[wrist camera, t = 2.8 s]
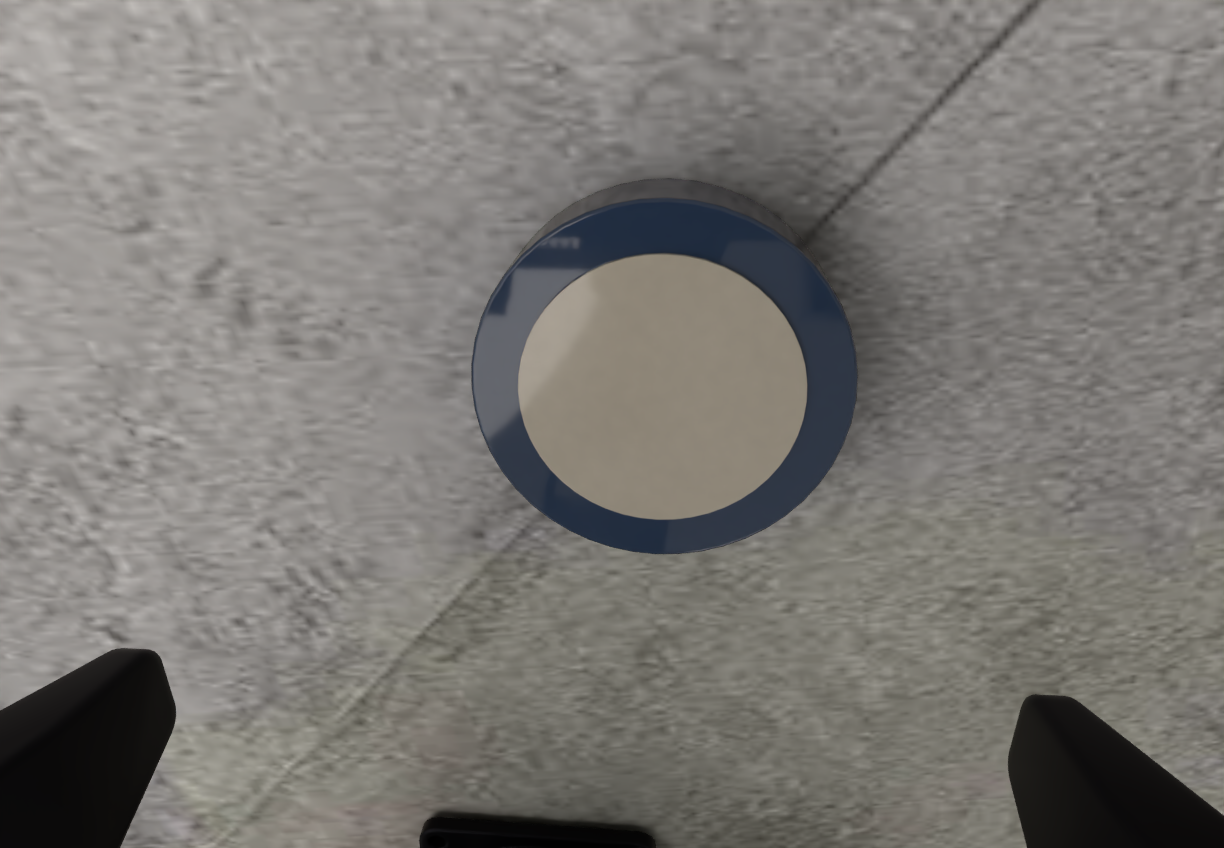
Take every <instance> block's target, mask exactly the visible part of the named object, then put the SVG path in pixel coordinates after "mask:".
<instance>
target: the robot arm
mask: <svg viewBox="0 0 1224 848" xmlns="http://www.w3.org/2000/svg"><path fill="white" fill-rule="evenodd" d="M175 719H176V706H175V702H174V699H173V696H172V692H171V689H170V686H169V683H168V680H167V676H166V673H165V670H164V667H163V663H162V660H161V658H160V656H159V655H158V654H157V653H156V652H155V651H152V650H148V649H130V648H120V649H114V650H111V651H109V652H107V653H105V654H104V655H102V656H100V657H98V658H96V659H94V660H93V661H91V662H89V663H87V664H85V665H83V666H82V667H80V668H78V669H76V670H74V671H72V672H71V673H69V674H67V675H65V676H63V677H61V678H60V679H58V680H56V681H54V682H52V683H50V684H48V685H47V686H45V687H43V688H41V689H39V690H37V691H36V692H34V693H32V694H30V695H28V696H26V697H25V698H23V699H21V700H19V701H17V702H15V703H14V704H12V705H10V706H8V707H6V708H4V709H2V710H1V711H0V848H120V846H121V844H122V842H123V840H124V838H125V835H126V833H127V831H128V829H129V826H130V824H131V822H132V820H133V818H134V815H135V813H136V811H137V809H138V807H139V804H140V802H141V800H142V798H143V795H144V793H145V791H146V789H147V787H148V784H149V782H150V780H151V778H152V776H153V773H154V771H155V769H156V767H157V764H158V762H159V760H160V758H161V756H162V753H163V751H164V749H165V747H166V745H167V742H168V740H169V738H170V736H171V733H172V731H173V728H174V724H175ZM1008 771H1009V778H1010V782H1011V786H1012V790H1013V794H1014V798H1015V802H1016V806H1017V810H1018V814H1019V818H1020V821H1021V825H1022V829H1023V833H1024V837H1025V841H1026V845H1027V848H1224V815H1222V814H1221V813H1220V812H1218V811H1217V810H1216V809H1215V808H1213V807H1212V806H1211V805H1210V804H1208V803H1207V802H1206V801H1204V800H1203V799H1202V798H1201V797H1199V796H1198V795H1197V794H1196V793H1194V792H1193V791H1192V790H1190V789H1189V788H1188V787H1187V786H1185V785H1184V784H1183V783H1182V782H1180V781H1179V780H1178V779H1176V778H1175V777H1174V776H1173V775H1171V774H1170V773H1169V772H1168V771H1166V770H1165V769H1164V768H1162V767H1161V766H1160V765H1159V764H1157V763H1156V762H1155V761H1154V760H1152V759H1151V758H1150V757H1148V756H1147V755H1146V754H1145V753H1143V752H1142V751H1141V750H1140V749H1138V748H1137V747H1136V746H1134V745H1133V744H1132V743H1131V742H1129V741H1128V740H1127V739H1126V738H1124V737H1123V736H1122V735H1120V734H1119V733H1118V732H1117V731H1115V730H1114V729H1113V728H1112V727H1110V726H1109V725H1108V724H1106V723H1105V722H1104V721H1103V720H1101V719H1100V718H1099V717H1098V716H1096V715H1095V714H1094V713H1092V712H1091V711H1090V710H1089V709H1087V708H1086V707H1085V706H1083V705H1082V704H1081V703H1080V702H1078V701H1077V700H1075V699H1073V698H1071V697H1067V696H1056V695H1037V694H1035V695H1030V696H1028V697H1027V698H1026V699H1025V700H1024V702H1023V704H1022V707H1021V710H1020V714H1019V717H1018V721H1017V725H1016V728H1015V732H1014V736H1013V740H1012V743H1011V747H1010V751H1009V756H1008ZM419 842H420V848H656V843H655V840H654V839H653V838H652V837H651V836H650V835H648V834H646V833H642V832H637V831H623V830H609V829H595V828H582V827H568V826H554V825H540V824H527V823H513V822H499V821H485V820H472V819H458V818H444V817H435V818H431V819H428V820H427V821H426V822H425V823H424V826H423V829H422V832H421V835H420V840H419Z"/></svg>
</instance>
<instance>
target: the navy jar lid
mask: <svg viewBox="0 0 1224 848" xmlns="http://www.w3.org/2000/svg"><path fill="white" fill-rule="evenodd" d="M471 383H472V393H473V400H474V407H475V411H476V415H477V418H478V422H479V425H480V429H481V432H482V434H483V436H484V439H485V441H486V443H487V445H488V448H489V450H490V452H491V454H492V456H493V457H494V459H495V461H496V462H497V464H498V466H499V467H500V469H501V470H502V472H503V473H504V474H505V476H506V477H507V478H508V480H509V481H510V482H511V483H512V485H513V486H514V487H515V488H516V490H517V491H518V492H519V493H520V494H522V495H523V496H524V497H525V498H526V499H527V500H528V501H529V502H530V503H531V504H532V505H533V506H534V507H535V508H537V509H538V510H539V511H540V512H542V513H543V514H544V515H546V516H547V517H548V518H549V519H551V520H553V521H554V522H556V523H558V524H559V525H561V526H563V527H564V528H566V529H568V530H569V531H571V532H574V533H576V534H578V535H580V536H582V537H584V538H587V539H589V540H592V541H595V542H598V543H600V544H603V545H606V546H609V547H613V548H618V549H623V550H627V551H632V552H640V553H650V554H682V553H691V552H700V551H705V550H709V549H714V548H718V547H722V546H726V545H728V544H731V543H734V542H737V541H740V540H743V539H745V538H747V537H750V536H752V535H754V534H756V533H758V532H760V531H762V530H764V529H766V528H767V527H769V526H771V525H772V524H774V523H775V522H777V521H778V520H780V519H781V518H783V517H785V516H786V515H787V514H788V513H790V512H791V511H792V510H793V509H794V508H796V507H797V506H798V505H799V504H800V503H802V502H803V501H804V500H805V499H806V498H807V496H808V495H809V494H810V493H811V492H812V491H813V490H814V489H815V488H816V487H817V486H818V485H819V483H820V482H821V481H822V479H823V478H824V476H825V475H826V474H827V472H828V471H829V469H830V468H831V467H832V465H833V463H834V461H835V460H836V458H837V456H838V454H839V452H840V450H841V448H842V446H843V444H844V442H845V439H846V436H847V434H848V431H849V428H850V426H851V423H852V418H853V413H854V409H855V404H856V399H857V384H858V369H857V356H856V349H855V345H854V340H853V336H852V331H851V328H850V325H849V323H848V320H847V317H846V315H845V312H844V310H843V307H842V305H841V303H840V301H839V299H838V297H837V296H836V294H835V292H834V290H833V288H832V286H831V285H830V283H829V281H828V279H827V277H826V276H825V274H824V272H823V270H822V268H821V267H820V265H819V263H818V261H817V260H816V258H815V256H814V255H813V253H812V252H811V251H810V250H809V248H808V247H807V246H806V244H805V243H804V242H803V240H802V239H801V238H800V237H799V236H798V235H797V234H796V233H795V232H794V231H793V230H792V229H791V228H790V227H789V226H788V225H787V224H786V223H785V222H784V221H783V220H781V219H780V218H779V217H777V216H776V215H775V214H773V213H772V212H771V211H769V210H768V209H766V208H765V207H764V206H762V205H760V204H758V203H756V202H755V201H753V200H751V199H749V198H747V197H745V196H743V195H741V194H739V193H736V192H733V191H731V190H728V189H725V188H723V187H720V186H716V185H712V184H708V183H703V182H699V181H694V180H682V179H671V178H667V179H646V180H640V181H634V182H629V183H623V184H619V185H616V186H613V187H610V188H607V189H604V190H601V191H598V192H595V193H593V194H591V195H589V196H587V197H585V198H583V199H581V200H579V201H577V202H575V203H573V204H572V205H570V206H569V207H567V208H566V209H564V210H563V211H561V212H560V213H558V214H557V215H555V216H554V217H553V218H552V219H551V220H550V221H549V222H548V223H546V224H545V225H544V226H543V227H542V228H541V229H540V230H539V231H538V232H537V233H536V234H535V235H534V236H533V237H532V239H531V240H530V241H529V242H528V243H527V244H526V246H525V247H524V248H523V249H522V251H521V252H520V253H519V255H518V256H517V258H516V259H515V260H514V262H513V263H512V264H511V266H510V267H509V269H508V270H507V271H506V273H505V274H504V276H503V277H502V279H501V280H500V282H499V284H498V285H497V287H496V288H495V290H494V292H493V293H492V295H491V297H490V299H489V301H488V303H487V306H486V308H485V310H484V312H483V314H482V317H481V320H480V323H479V327H478V330H477V334H476V337H475V341H474V348H473V355H472V363H471Z"/></svg>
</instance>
